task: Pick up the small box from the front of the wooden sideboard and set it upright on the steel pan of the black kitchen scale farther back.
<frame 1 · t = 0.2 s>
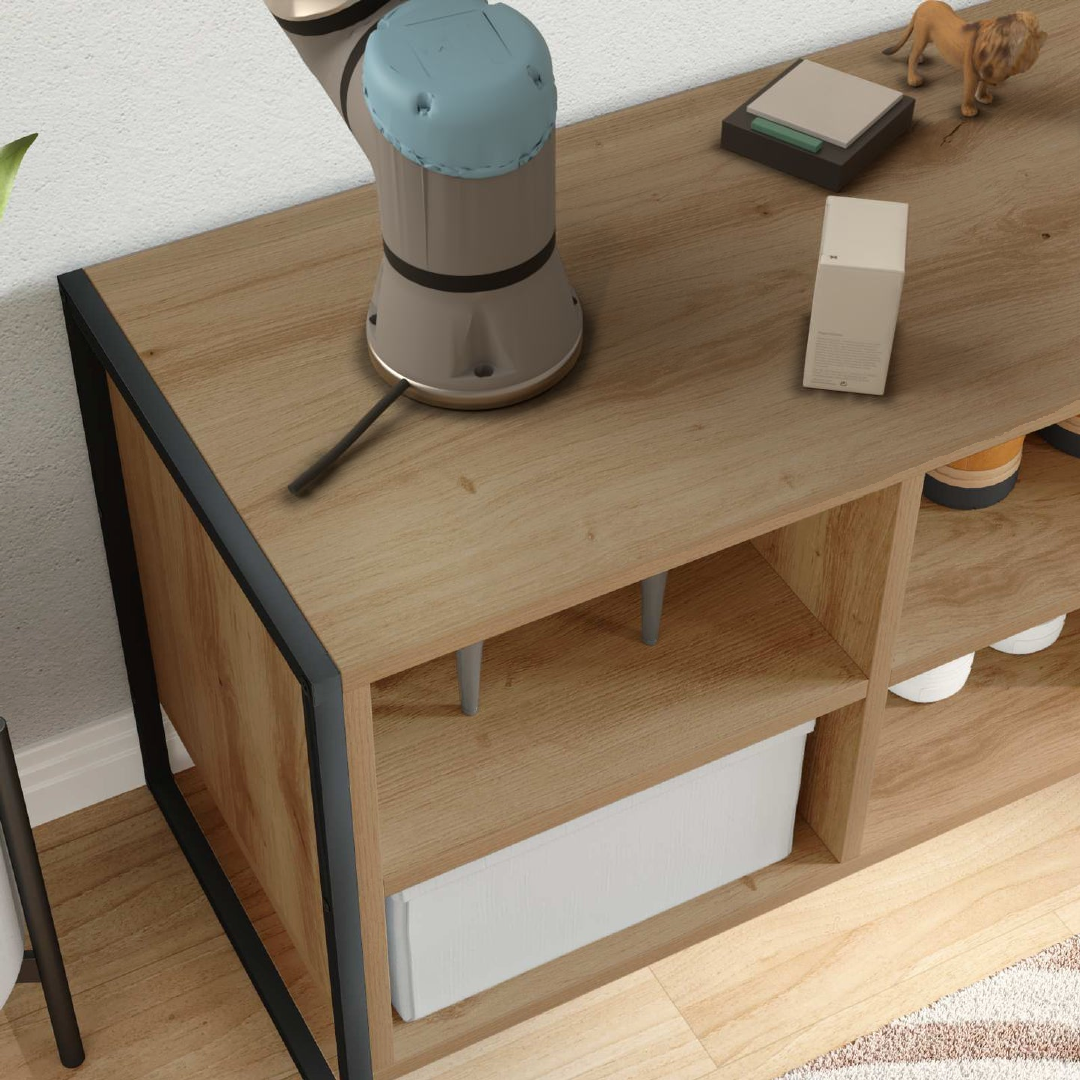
lion figurine: (955, 93, 134), on the sideboard
scale: (816, 136, 129), on the sideboard
small box: (845, 358, 110), on the sideboard
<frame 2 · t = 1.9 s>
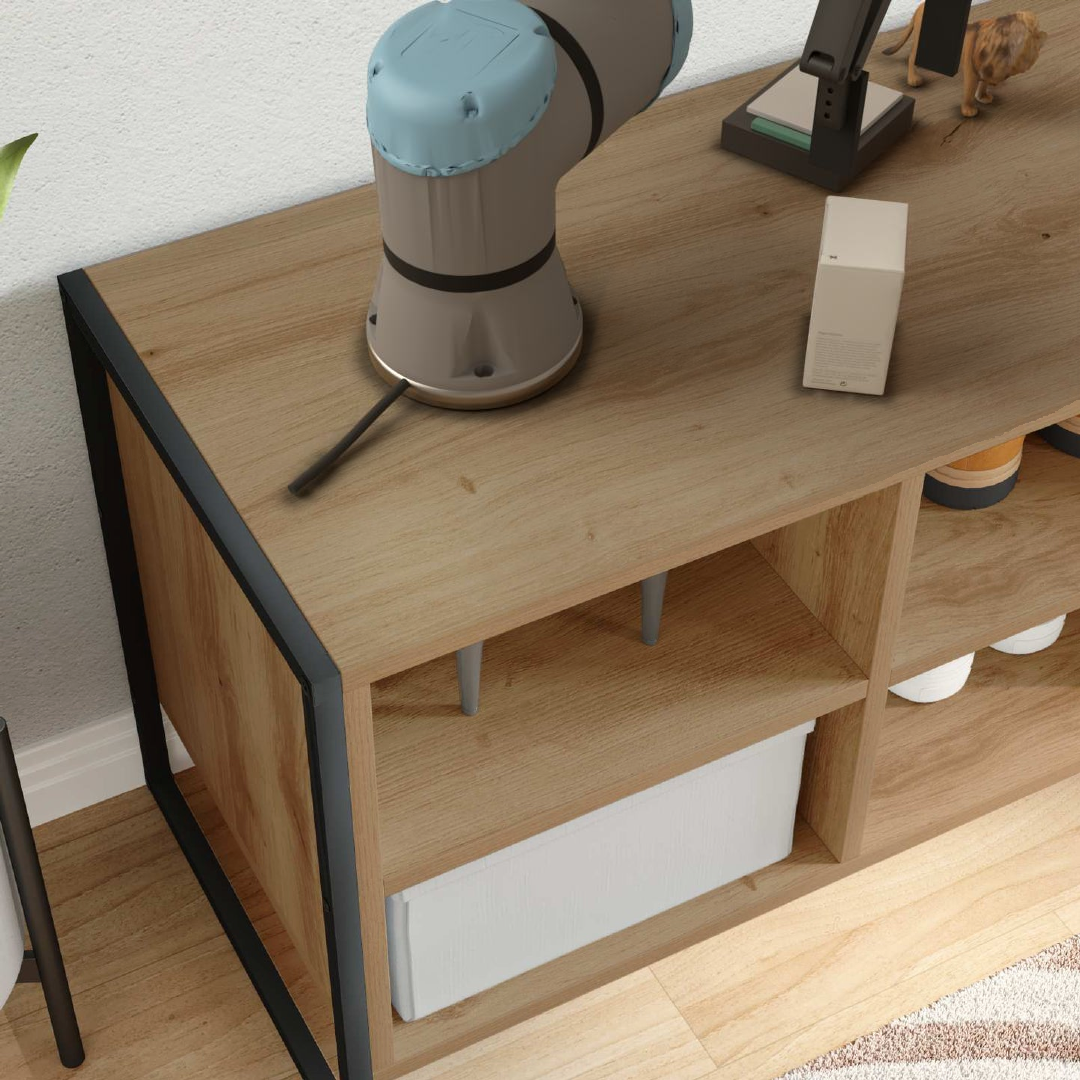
hand: (885, 117, 97), 19 cm above the sideboard, tool pointing down, fingers open, 13 cm apart
nothing on the sideboard moved.
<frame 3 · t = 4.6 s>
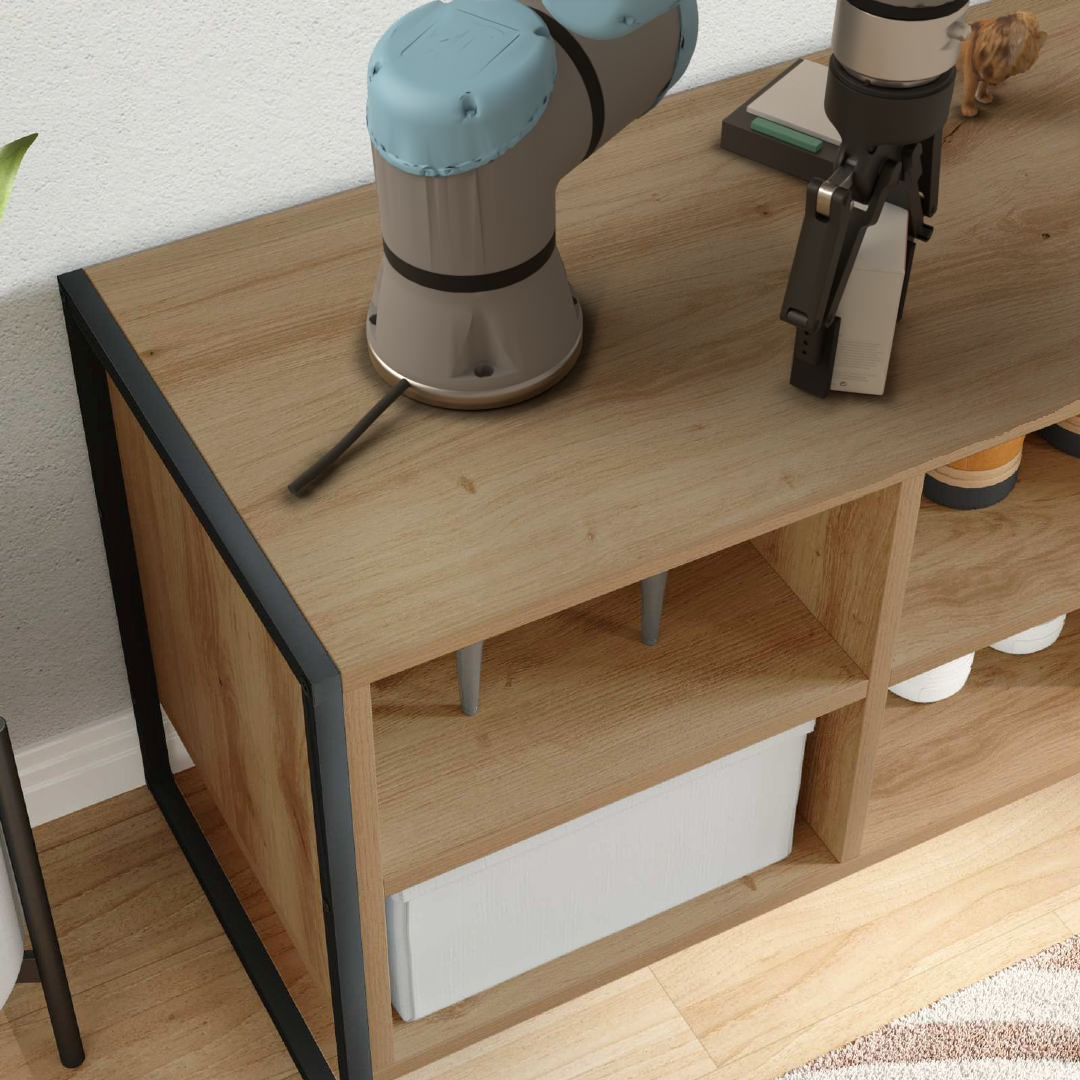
hand: (846, 350, 110), 1 cm above the sideboard, tool pointing down, fingers closed on small box, 9 cm apart
small box: (845, 358, 110), on the sideboard, touching gripper
everything else where it was.
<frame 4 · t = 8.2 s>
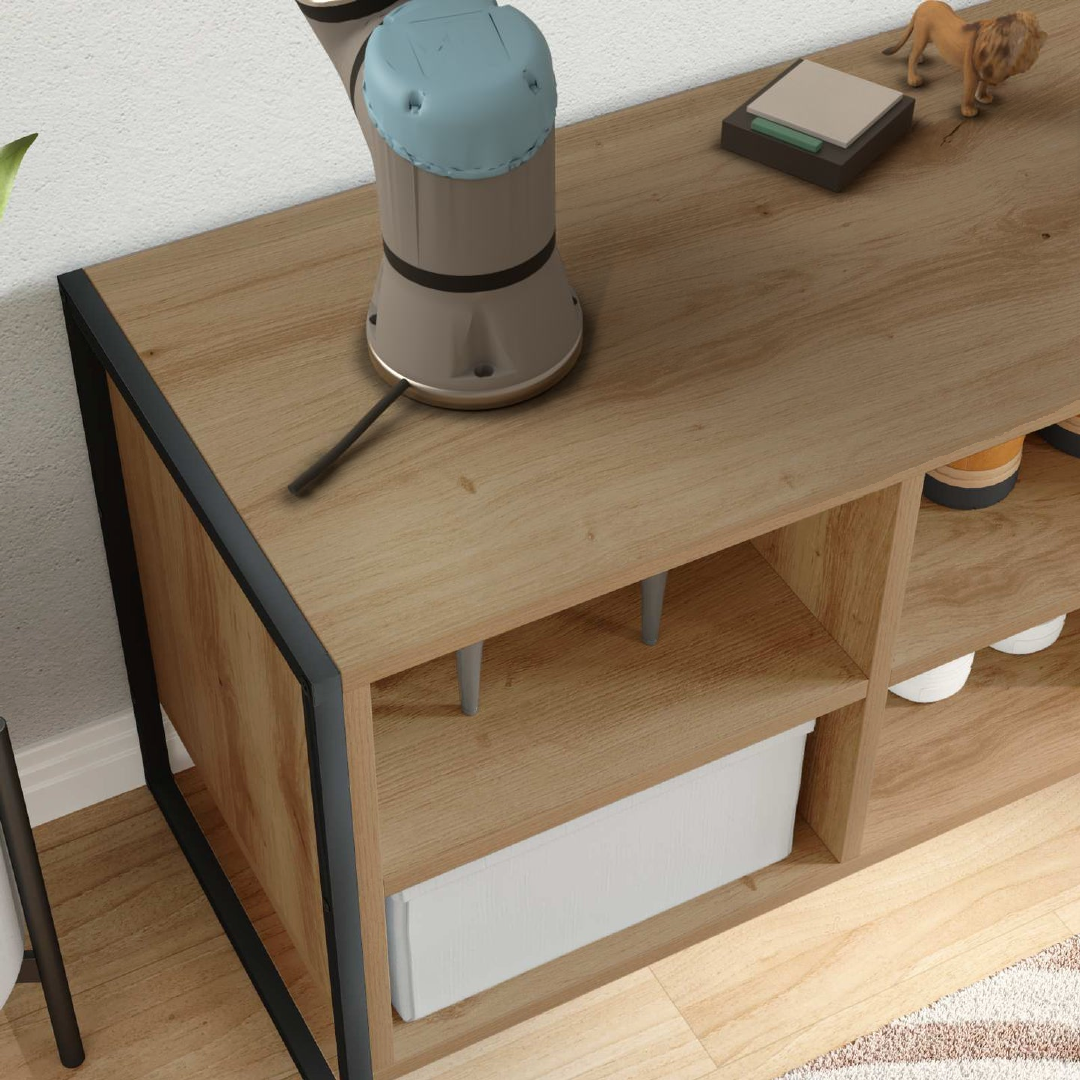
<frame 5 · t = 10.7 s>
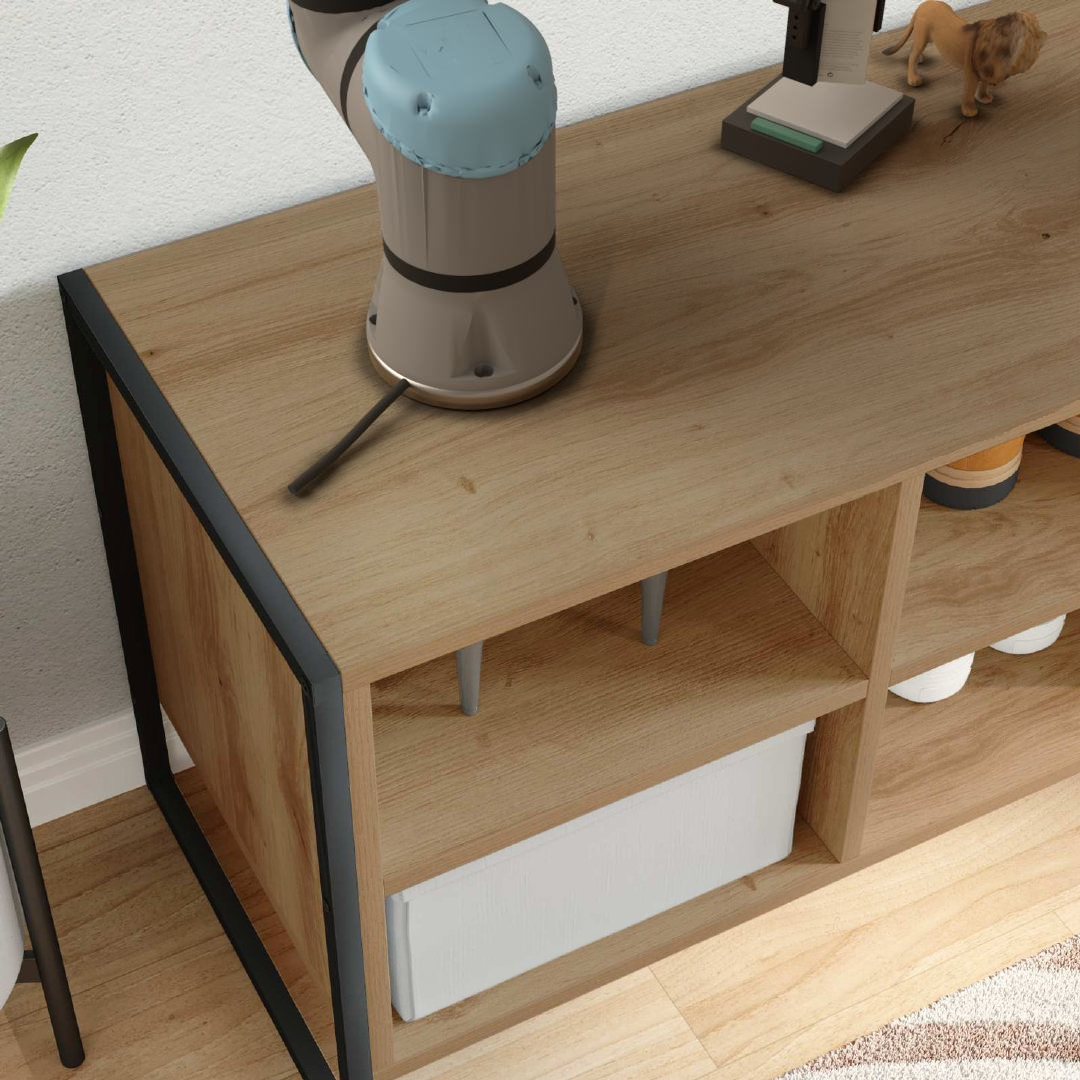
hand: (832, 52, 125), 7 cm above the sideboard, tool pointing down, fingers closed on small box, 9 cm apart
small box: (832, 60, 125), point 6 cm above the sideboard, touching gripper
everything else where it was.
when the fingers open (3 cm above the sideboard, at t = 12.2 s): small box stays where it is, resting on scale.
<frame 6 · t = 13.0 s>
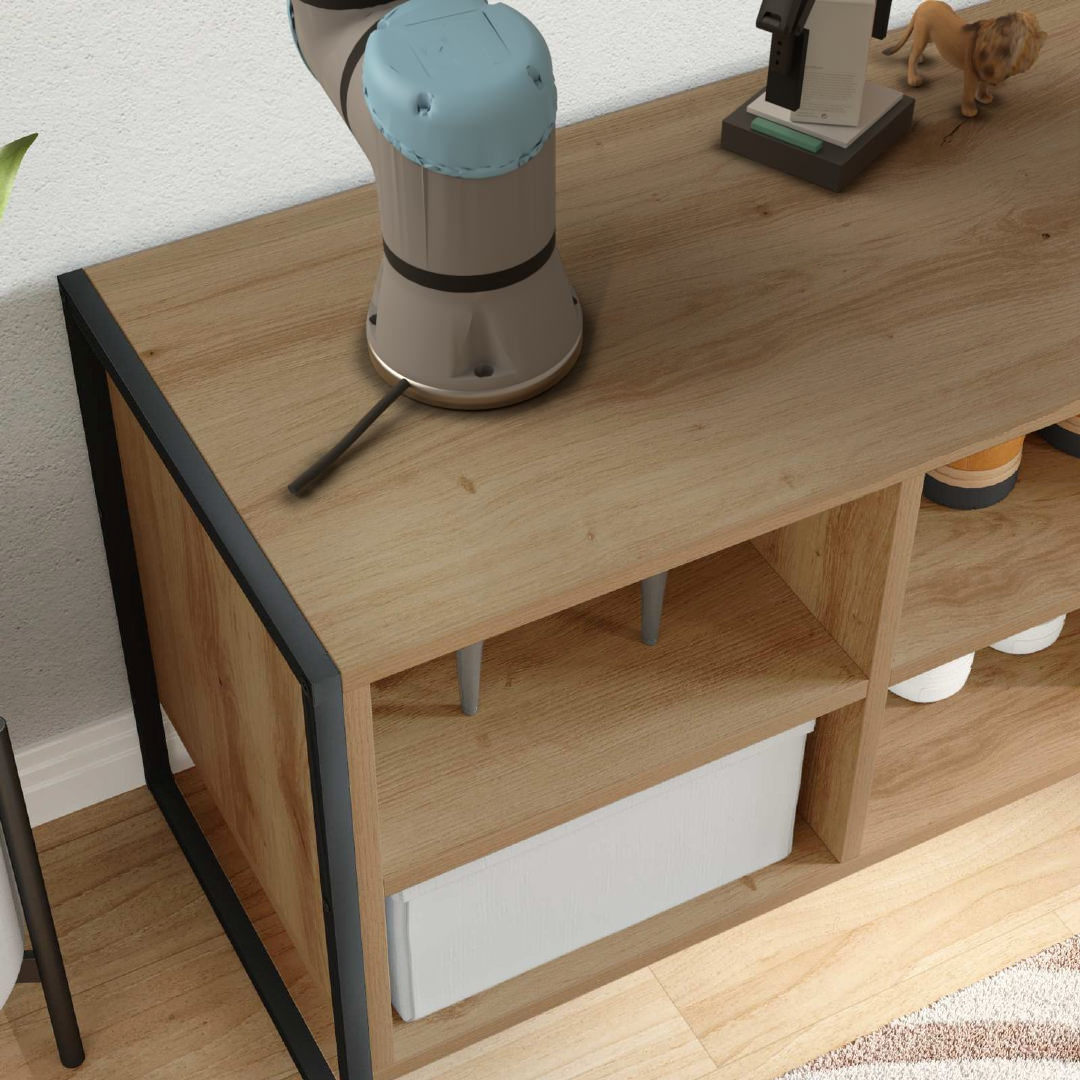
hand: (827, 68, 125), 6 cm above the sideboard, tool pointing down, fingers open, 13 cm apart
small box: (826, 101, 128), point 3 cm above the sideboard, touching scale
everything else where it was.
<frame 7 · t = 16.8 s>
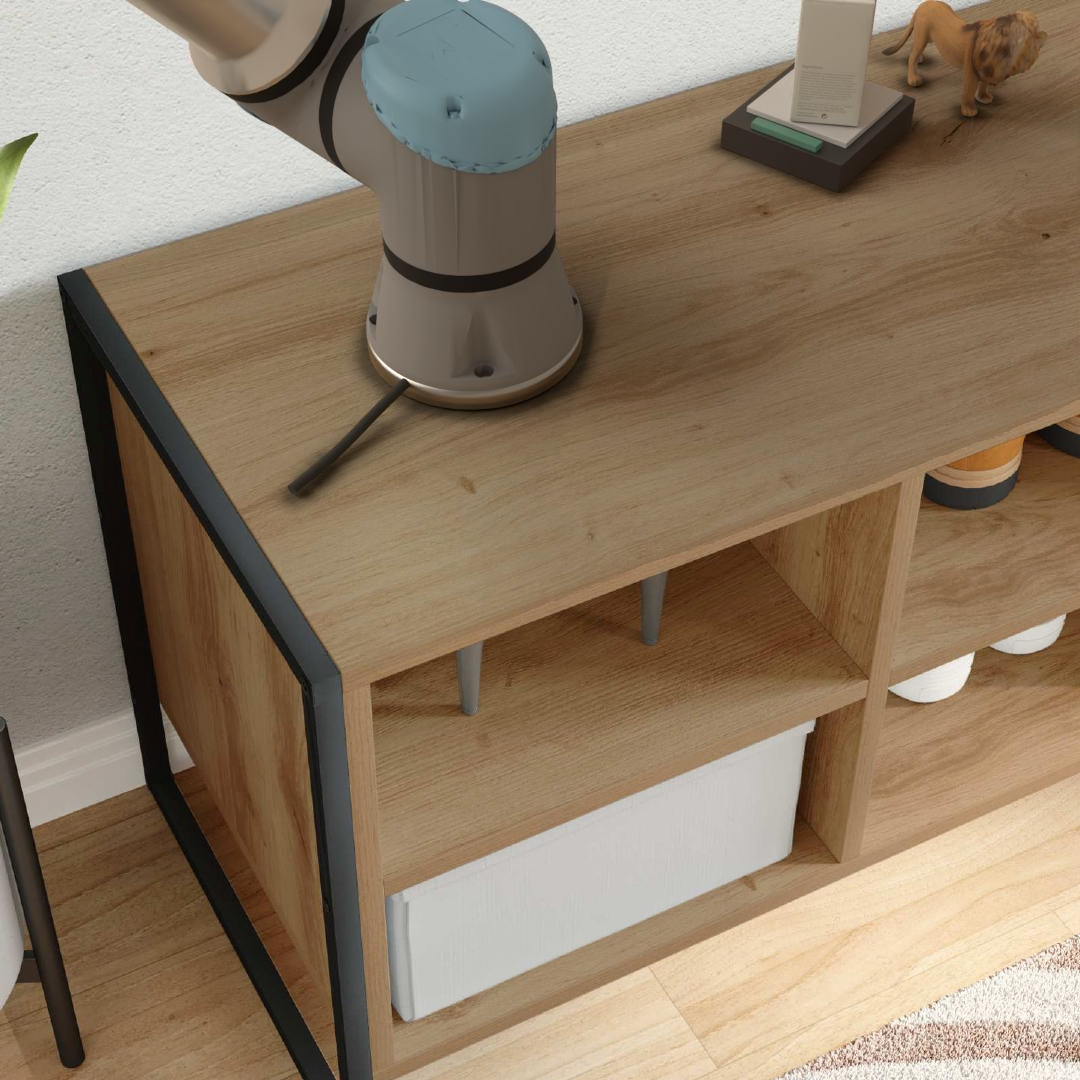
nothing on the sideboard moved.
at the end: small box inside the target area on the scale (0.1 cm from its centre), point 2.8 cm above the scale's base; small box tilted 0°; the gripper is holding nothing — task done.
